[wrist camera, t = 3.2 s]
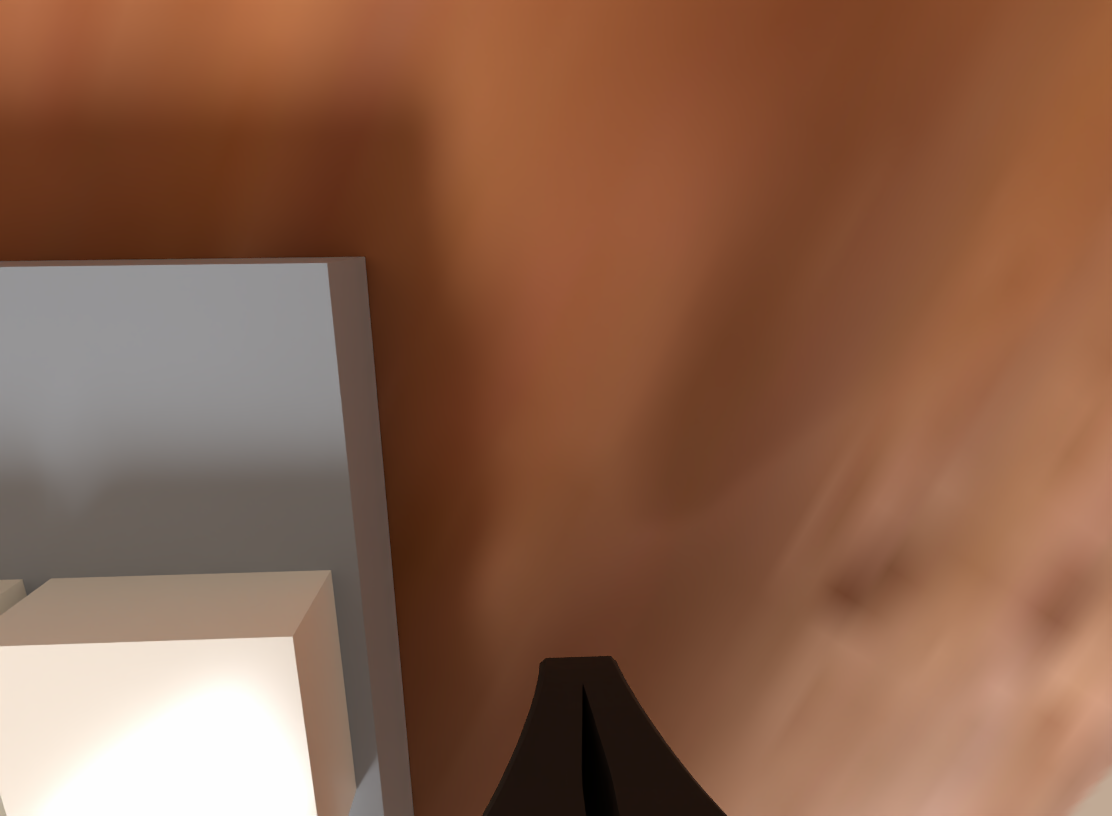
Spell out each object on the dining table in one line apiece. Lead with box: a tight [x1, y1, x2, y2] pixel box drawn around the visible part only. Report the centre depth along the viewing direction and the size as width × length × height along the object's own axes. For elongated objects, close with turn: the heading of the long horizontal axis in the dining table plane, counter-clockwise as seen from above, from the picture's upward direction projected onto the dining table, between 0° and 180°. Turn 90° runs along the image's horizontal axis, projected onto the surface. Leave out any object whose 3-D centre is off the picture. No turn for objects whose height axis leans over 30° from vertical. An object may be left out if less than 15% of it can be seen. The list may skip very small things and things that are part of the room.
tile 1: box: [0, 570, 356, 816], centre depth 11 cm, size 5×5×2 cm
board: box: [0, 257, 414, 816], centre depth 13 cm, size 16×15×2 cm
